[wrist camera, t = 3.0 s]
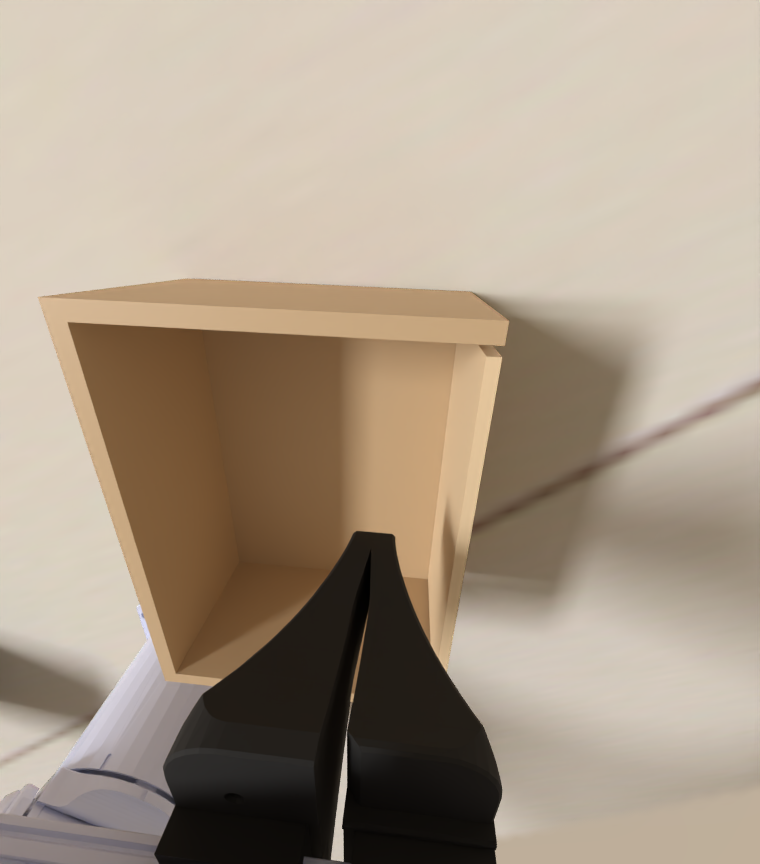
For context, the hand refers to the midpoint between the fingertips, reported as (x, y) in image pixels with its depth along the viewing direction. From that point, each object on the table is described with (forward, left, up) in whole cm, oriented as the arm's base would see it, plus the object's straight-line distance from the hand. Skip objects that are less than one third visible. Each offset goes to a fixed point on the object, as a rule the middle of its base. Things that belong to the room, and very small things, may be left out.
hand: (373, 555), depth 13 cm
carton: (0, +3, -7) cm, 8 cm away
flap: (0, -3, -6) cm, 7 cm away
